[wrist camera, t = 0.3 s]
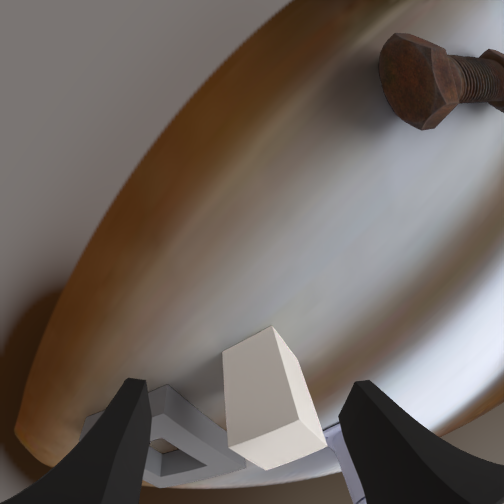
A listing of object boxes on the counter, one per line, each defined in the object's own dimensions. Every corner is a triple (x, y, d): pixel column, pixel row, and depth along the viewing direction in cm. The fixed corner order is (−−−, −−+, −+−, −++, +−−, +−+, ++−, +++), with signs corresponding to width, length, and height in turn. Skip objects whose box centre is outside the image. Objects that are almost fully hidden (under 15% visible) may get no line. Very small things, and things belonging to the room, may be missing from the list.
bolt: (495, 90, 17) (373, 98, 16) (503, 43, 13) (373, 27, 12) (541, 126, 13) (433, 145, 13) (555, 75, 9) (446, 57, 9)
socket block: (243, 443, 25) (246, 467, 22) (161, 467, 26) (160, 488, 23) (167, 384, 21) (163, 413, 18) (86, 417, 22) (78, 440, 19)
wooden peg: (297, 359, 21) (327, 446, 14) (251, 382, 22) (266, 470, 14) (271, 325, 20) (299, 419, 12) (222, 351, 20) (228, 447, 13)
